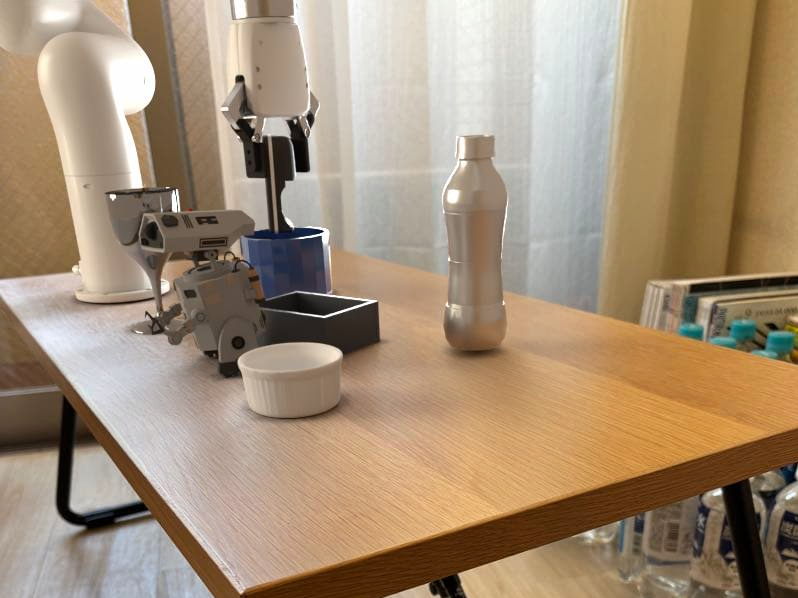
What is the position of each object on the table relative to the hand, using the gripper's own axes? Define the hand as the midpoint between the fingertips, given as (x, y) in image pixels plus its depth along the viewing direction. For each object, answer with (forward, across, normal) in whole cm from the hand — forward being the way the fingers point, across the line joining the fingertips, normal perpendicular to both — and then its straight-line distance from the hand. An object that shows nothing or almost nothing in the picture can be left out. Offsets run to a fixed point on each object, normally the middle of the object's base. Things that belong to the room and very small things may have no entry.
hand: (279, 173), depth 112 cm
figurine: (+15, +29, +17) cm, 37 cm away
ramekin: (+15, +34, +32) cm, 49 cm away
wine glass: (+15, +20, -2) cm, 25 cm away
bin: (+15, +18, +19) cm, 30 cm away
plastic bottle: (+15, +11, +36) cm, 41 cm away
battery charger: (+7, 0, 0) cm, 7 cm away
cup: (+15, 0, 0) cm, 15 cm away
